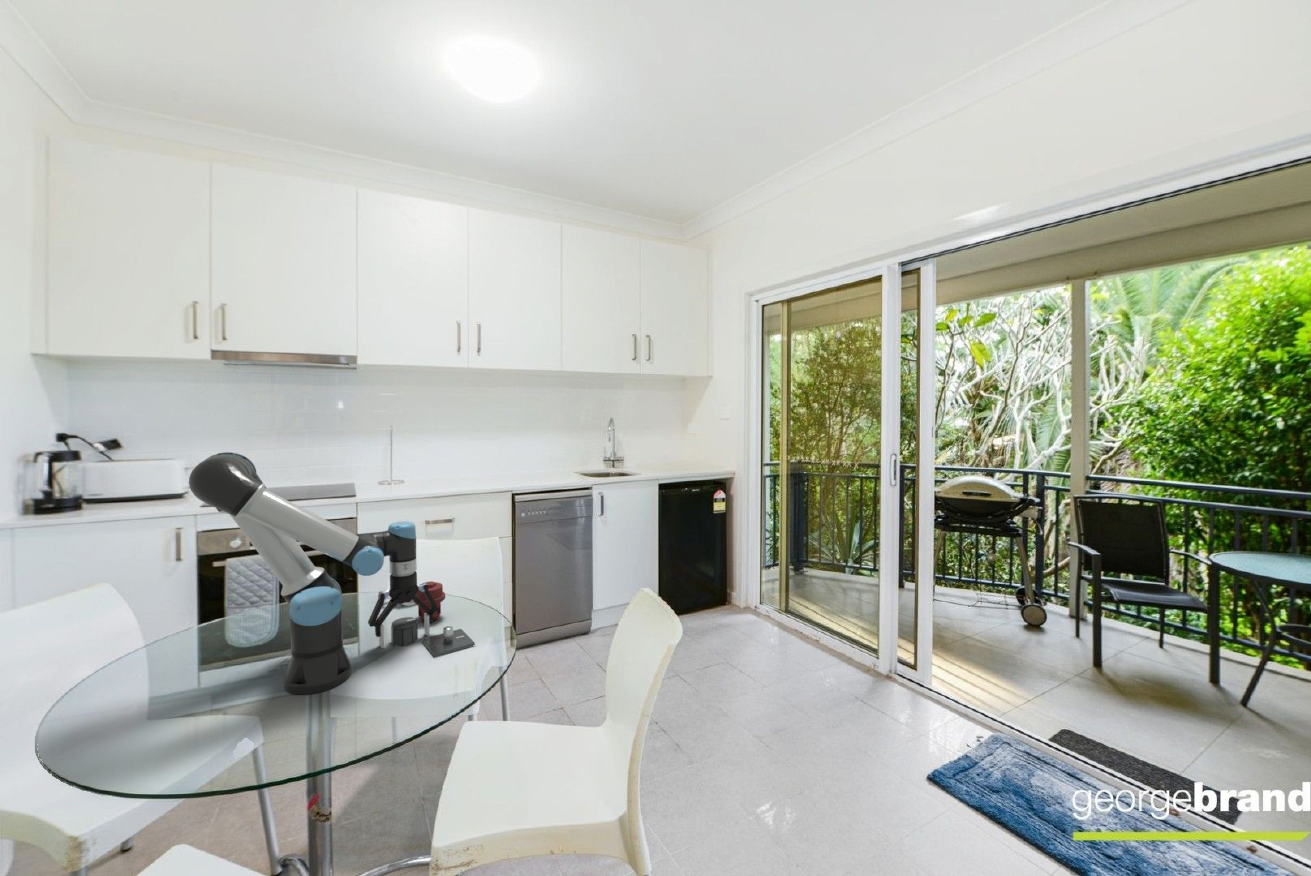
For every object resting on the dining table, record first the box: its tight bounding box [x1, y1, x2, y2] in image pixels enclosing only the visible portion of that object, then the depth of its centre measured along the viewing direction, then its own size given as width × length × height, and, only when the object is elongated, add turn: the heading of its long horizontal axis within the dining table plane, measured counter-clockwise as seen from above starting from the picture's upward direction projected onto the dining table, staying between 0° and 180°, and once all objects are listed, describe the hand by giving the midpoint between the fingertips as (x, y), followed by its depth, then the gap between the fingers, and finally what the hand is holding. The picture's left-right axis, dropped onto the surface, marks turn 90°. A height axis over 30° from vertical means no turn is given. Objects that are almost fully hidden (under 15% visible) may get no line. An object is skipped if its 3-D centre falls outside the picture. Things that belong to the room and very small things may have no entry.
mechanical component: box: [413, 581, 446, 623], centre depth 183 cm, size 12×10×10 cm
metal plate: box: [421, 625, 476, 658], centre depth 165 cm, size 12×12×5 cm
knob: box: [390, 616, 419, 647], centre depth 167 cm, size 7×7×6 cm
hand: (404, 640), depth 167 cm, fingers open, 12 cm apart
